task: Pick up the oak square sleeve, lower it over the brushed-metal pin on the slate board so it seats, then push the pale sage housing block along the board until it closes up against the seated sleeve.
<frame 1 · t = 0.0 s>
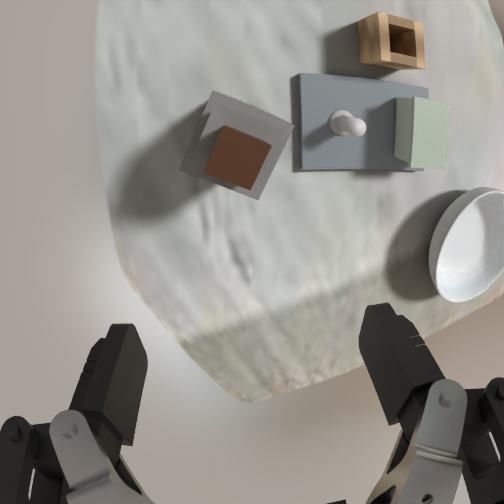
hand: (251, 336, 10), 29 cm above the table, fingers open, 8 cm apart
housing: (420, 131, 30), point 4 cm above the table, slide at 0.0 cm
serving bowl: (459, 231, 43), on the table
board: (367, 123, 34), on the table
perfume bottle: (234, 128, 34), on the table
sleeve: (379, 45, 28), on the table
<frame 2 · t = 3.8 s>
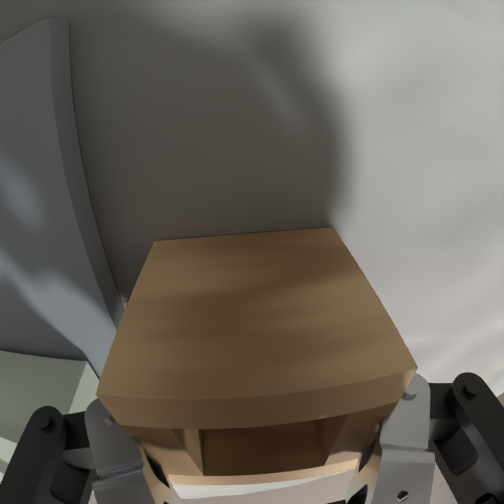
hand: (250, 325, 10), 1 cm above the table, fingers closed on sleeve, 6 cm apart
housing: (33, 421, 10), point 4 cm above the table, slide at 0.0 cm
board: (5, 276, 10), on the table
sleeve: (249, 304, 11), on the table, touching gripper
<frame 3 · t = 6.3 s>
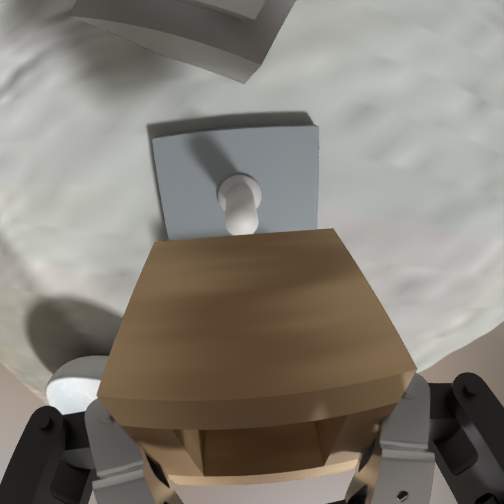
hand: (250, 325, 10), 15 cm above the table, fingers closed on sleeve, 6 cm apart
serving bowl: (130, 383, 36), on the table
board: (242, 235, 25), on the table
perfume bottle: (220, 30, 17), on the table
sleeve: (249, 305, 11), point 14 cm above the table, touching gripper
when the fingers open (4 cm above the table, at t = 9.1 s): sleeve drops 1 cm, resting on board.
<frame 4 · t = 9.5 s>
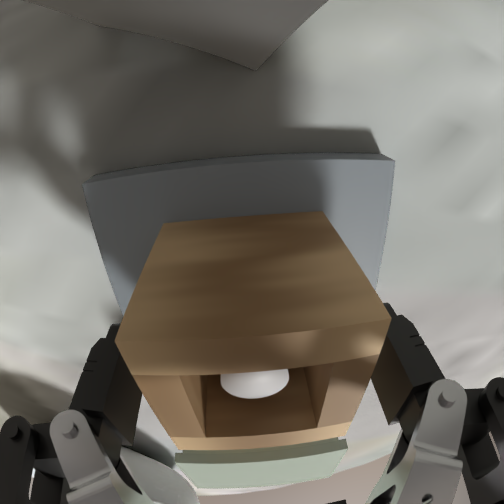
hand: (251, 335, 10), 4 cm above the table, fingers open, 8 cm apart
housing: (259, 441, 15), point 4 cm above the table, slide at 0.0 cm
serving bowl: (115, 453, 26), on the table
board: (250, 330, 16), on the table
sleeve: (247, 282, 12), point 1 cm above the table, touching board
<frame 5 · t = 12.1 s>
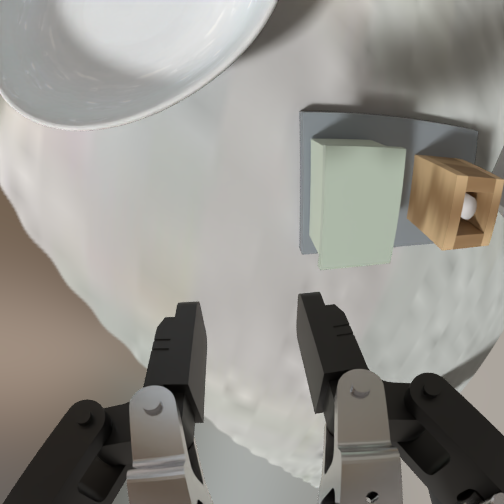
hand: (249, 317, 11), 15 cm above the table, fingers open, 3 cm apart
housing: (351, 198, 21), point 4 cm above the table, slide at 0.0 cm
serving bowl: (137, 1, 15), on the table
board: (395, 182, 24), on the table
sleeve: (436, 187, 23), point 1 cm above the table, touching board
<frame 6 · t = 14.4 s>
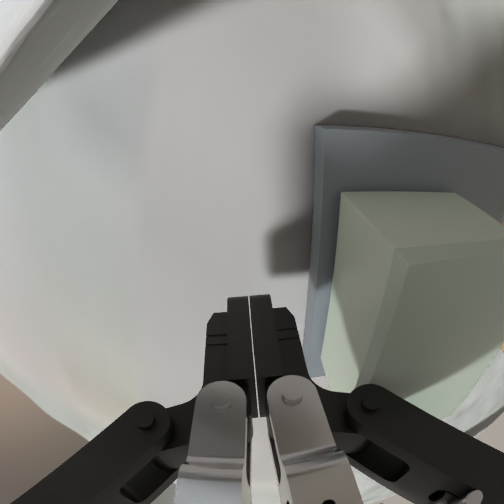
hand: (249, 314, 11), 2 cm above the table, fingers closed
housing: (413, 324, 9), point 4 cm above the table, slide at 0.0 cm, touching gripper
board: (466, 255, 13), on the table
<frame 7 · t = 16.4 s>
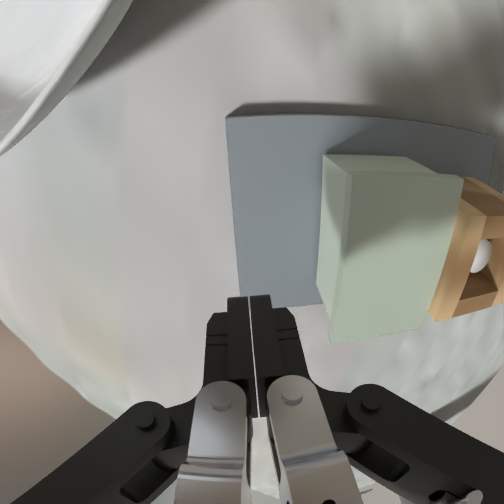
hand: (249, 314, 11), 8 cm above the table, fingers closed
housing: (378, 243, 14), point 4 cm above the table, slide at 4.2 cm
serving bowl: (30, 1, 9), on the table
board: (377, 211, 18), on the table
sleeve: (435, 218, 17), point 1 cm above the table, touching board
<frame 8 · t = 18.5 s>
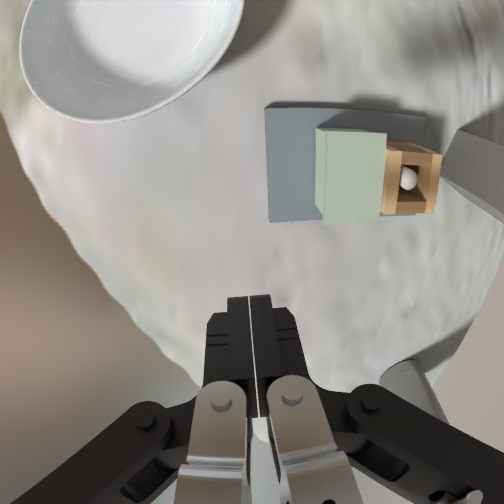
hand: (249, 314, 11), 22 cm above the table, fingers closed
housing: (346, 172, 27), point 4 cm above the table, slide at 4.2 cm
serving bowl: (138, 23, 21), on the table
board: (349, 163, 30), on the table
perfume bottle: (460, 163, 30), on the table
sleeve: (386, 166, 29), point 1 cm above the table, touching board
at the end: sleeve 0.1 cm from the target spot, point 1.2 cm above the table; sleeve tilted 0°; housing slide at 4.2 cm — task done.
